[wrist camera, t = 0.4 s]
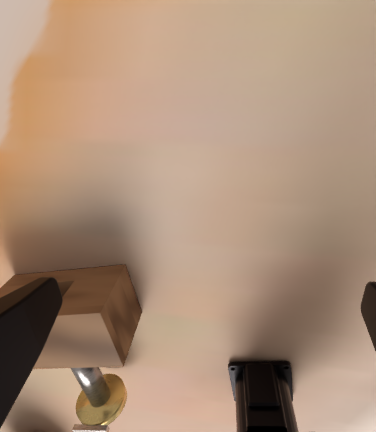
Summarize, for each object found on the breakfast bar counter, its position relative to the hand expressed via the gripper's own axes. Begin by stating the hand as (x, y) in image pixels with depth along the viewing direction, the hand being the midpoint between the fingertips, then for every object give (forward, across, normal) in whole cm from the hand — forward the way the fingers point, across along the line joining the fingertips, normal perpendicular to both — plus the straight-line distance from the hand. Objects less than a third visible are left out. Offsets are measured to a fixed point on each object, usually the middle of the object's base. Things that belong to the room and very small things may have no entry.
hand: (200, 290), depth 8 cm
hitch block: (+14, +14, +13) cm, 24 cm away
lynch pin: (+13, +13, +20) cm, 27 cm away
